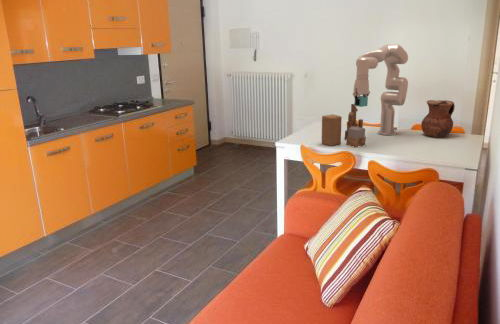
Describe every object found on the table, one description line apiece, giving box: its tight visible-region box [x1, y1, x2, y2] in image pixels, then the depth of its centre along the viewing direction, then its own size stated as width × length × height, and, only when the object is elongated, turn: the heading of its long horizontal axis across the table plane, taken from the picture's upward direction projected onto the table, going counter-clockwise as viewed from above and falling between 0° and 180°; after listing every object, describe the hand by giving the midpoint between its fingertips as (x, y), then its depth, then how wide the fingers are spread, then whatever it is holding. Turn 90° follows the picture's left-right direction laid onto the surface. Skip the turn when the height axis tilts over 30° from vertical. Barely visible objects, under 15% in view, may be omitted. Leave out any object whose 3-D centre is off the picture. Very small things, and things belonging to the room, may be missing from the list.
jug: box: [421, 99, 455, 138], centre depth 296 cm, size 22×21×25 cm
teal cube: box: [353, 95, 369, 108], centre depth 273 cm, size 6×6×6 cm
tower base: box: [345, 136, 367, 148], centre depth 280 cm, size 9×9×6 cm
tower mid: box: [348, 127, 366, 139], centre depth 279 cm, size 8×8×6 cm
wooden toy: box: [344, 103, 364, 140], centre depth 297 cm, size 16×7×25 cm, turn 138°
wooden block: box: [321, 114, 342, 147], centre depth 284 cm, size 10×10×20 cm
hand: (360, 104), depth 273 cm, fingers closed on teal cube, 6 cm apart
